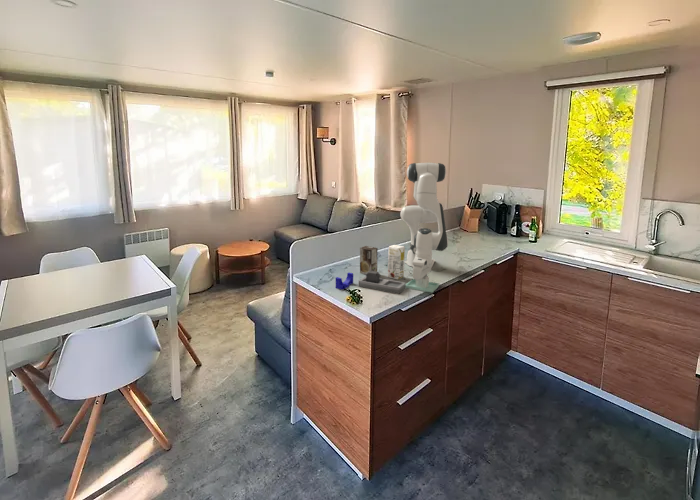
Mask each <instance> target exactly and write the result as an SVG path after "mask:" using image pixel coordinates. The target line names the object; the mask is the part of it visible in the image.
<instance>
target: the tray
mask: <svg viewBox="0 0 700 500" xmlns="http://www.w3.org/2000/svg"><path fill="white" fill-rule="evenodd" d="M415 285H416V280H415V279H414V278H411V280H409V281H408V282H406V288H405V289H411V290H415V291H421V292H427V293H431V294H432V293H434V291H436V290H437V289H438V288H439V287H440V283H439V282H432V281H429V286H428V287H427V288H421V287H415Z"/></svg>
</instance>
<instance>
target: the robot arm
mask: <svg viewBox="0 0 700 500" xmlns="http://www.w3.org/2000/svg"><path fill="white" fill-rule="evenodd" d="M446 175H447V169H446V165H445V164H443V163H441V162H438V163H435V162H418V163H416V162H413V163H410V164H409V165H408V166H407V169H406V177H407V179H408V181H410V182H412V183H413V185H414V187H413V198H414V200H415V201H416V204H417V205H407V206H403V207H402V208H401V210H400V218H401V220H402V221H403V222H404V223H405V224H406V225H407V226H408V228H409V231H410V242H409V243H410V244H409V250H408V251H407V256H406V260H404V264H406V265H408V266H409V267H412V279H415V280H418V284H419V285H422V282H423V281H422V278H423V277H424V276H428V274H429V273H430V272H431V271H432V267H434V264H435V261H436V259H435V258H434V259H433V251H439V252H443V251H444V250H446V249H447V248H448V245H449V237H448V234H447V228H446V218H445V212H444V206H443V205H442V204H443V203H441V202H439V199H438V196H437V195H438V184H437V183H440V182H443V181H444V180H445V178H446V177H447V176H446ZM421 223H423V224H432V223H437V225H438V226H437V227H438V231H437V232H433V231H432V230H431V228H428V227H427V228H425V227H424V228H423V227H422V226H420V224H421Z"/></svg>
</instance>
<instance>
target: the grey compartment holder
mask: <svg viewBox="0 0 700 500" xmlns="http://www.w3.org/2000/svg"><path fill="white" fill-rule="evenodd" d="M365 275H366V276H364V277H362V278H361V279H359V280H358V287H360V288H366V289H372V290H375V291H376V290H377V291H383V292H387V293H391V294H397V295H399V294H401V293H402V292H403V291H404V290H405V289H407V288H406V284H407V282H405V281H398V280H397V281H396V280H392V279H385V278H381V277H380V276H381V275H380V272H379V271H377V272H375V271H369V272H368V273H367V274H365Z"/></svg>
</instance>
